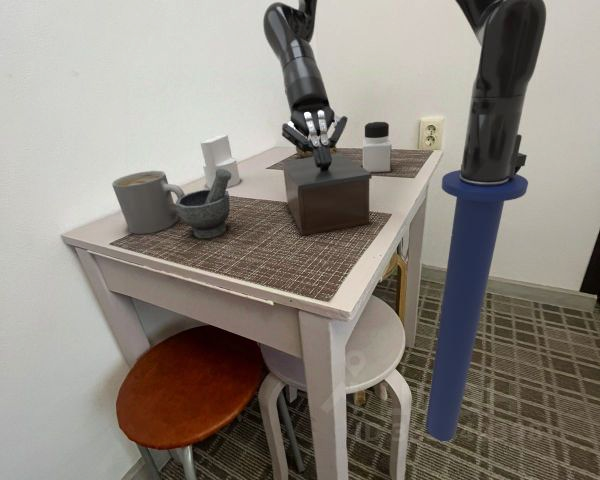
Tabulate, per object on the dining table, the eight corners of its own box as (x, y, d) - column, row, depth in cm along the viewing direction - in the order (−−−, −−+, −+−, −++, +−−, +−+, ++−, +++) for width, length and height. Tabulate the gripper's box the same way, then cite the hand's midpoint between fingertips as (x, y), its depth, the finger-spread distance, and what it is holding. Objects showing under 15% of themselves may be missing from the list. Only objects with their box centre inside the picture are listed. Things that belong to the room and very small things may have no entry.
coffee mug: (118, 232, 67) (100, 185, 63) (152, 212, 75) (138, 170, 71) (170, 237, 63) (154, 187, 58) (200, 216, 71) (189, 170, 66)
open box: (369, 223, 60) (369, 176, 56) (302, 235, 58) (297, 188, 54) (342, 195, 74) (341, 156, 69) (287, 204, 72) (282, 165, 68)
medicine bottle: (390, 171, 86) (392, 123, 80) (362, 173, 87) (362, 126, 81) (388, 164, 92) (390, 119, 86) (362, 165, 93) (362, 121, 87)
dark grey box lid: (371, 178, 55) (371, 173, 55) (298, 190, 53) (298, 185, 53) (341, 156, 69) (340, 152, 69) (282, 165, 68) (282, 161, 67)
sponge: (296, 155, 116) (291, 157, 97) (298, 132, 114) (294, 130, 95) (333, 159, 116) (335, 162, 96) (336, 136, 113) (339, 135, 94)
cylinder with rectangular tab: (218, 177, 96) (209, 135, 90) (245, 178, 93) (238, 134, 87) (200, 188, 89) (189, 143, 83) (229, 189, 86) (220, 142, 80)
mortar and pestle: (176, 243, 60) (156, 180, 55) (196, 221, 68) (181, 164, 63) (234, 241, 59) (220, 176, 53) (248, 219, 67) (237, 161, 61)
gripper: (271, 78, 59) (290, 161, 54) (341, 71, 61) (366, 150, 56) (271, 107, 66) (288, 183, 61) (334, 100, 68) (355, 173, 63)
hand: (325, 167), depth 58 cm, fingers closed
